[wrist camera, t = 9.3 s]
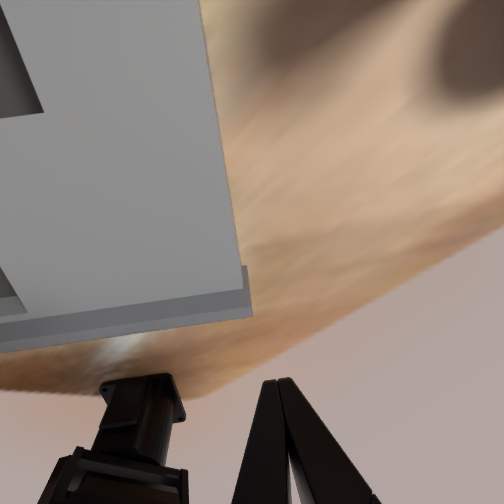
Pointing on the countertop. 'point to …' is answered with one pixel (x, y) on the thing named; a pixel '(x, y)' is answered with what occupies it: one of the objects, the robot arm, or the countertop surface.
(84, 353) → the countertop surface
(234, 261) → the box
